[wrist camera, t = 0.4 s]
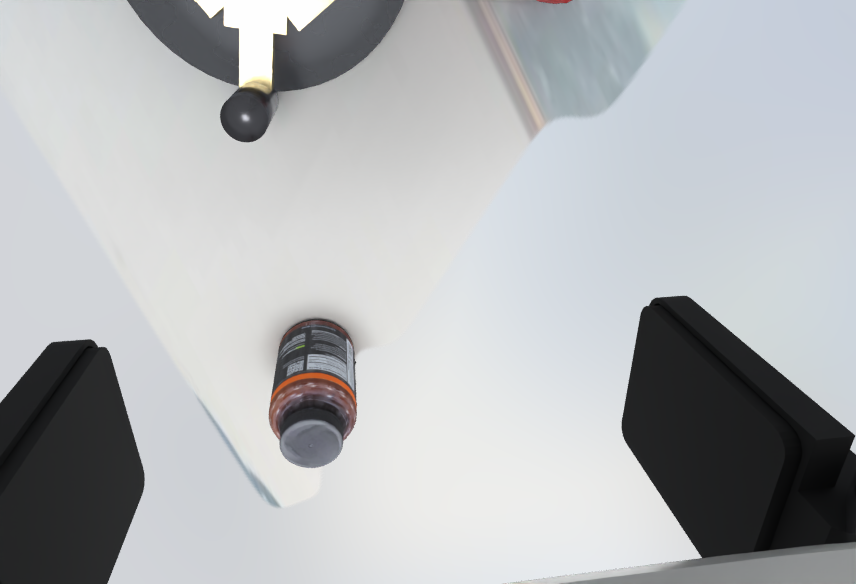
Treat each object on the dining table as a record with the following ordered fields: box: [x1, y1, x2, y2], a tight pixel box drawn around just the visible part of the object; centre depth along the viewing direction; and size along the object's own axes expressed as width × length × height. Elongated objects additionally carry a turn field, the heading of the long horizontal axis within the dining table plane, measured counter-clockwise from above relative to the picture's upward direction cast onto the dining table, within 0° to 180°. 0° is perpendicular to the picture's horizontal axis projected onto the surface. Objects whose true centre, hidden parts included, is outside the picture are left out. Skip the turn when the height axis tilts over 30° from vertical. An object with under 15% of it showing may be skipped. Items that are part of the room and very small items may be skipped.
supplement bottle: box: [269, 320, 357, 468], centre depth 42 cm, size 6×6×11 cm
